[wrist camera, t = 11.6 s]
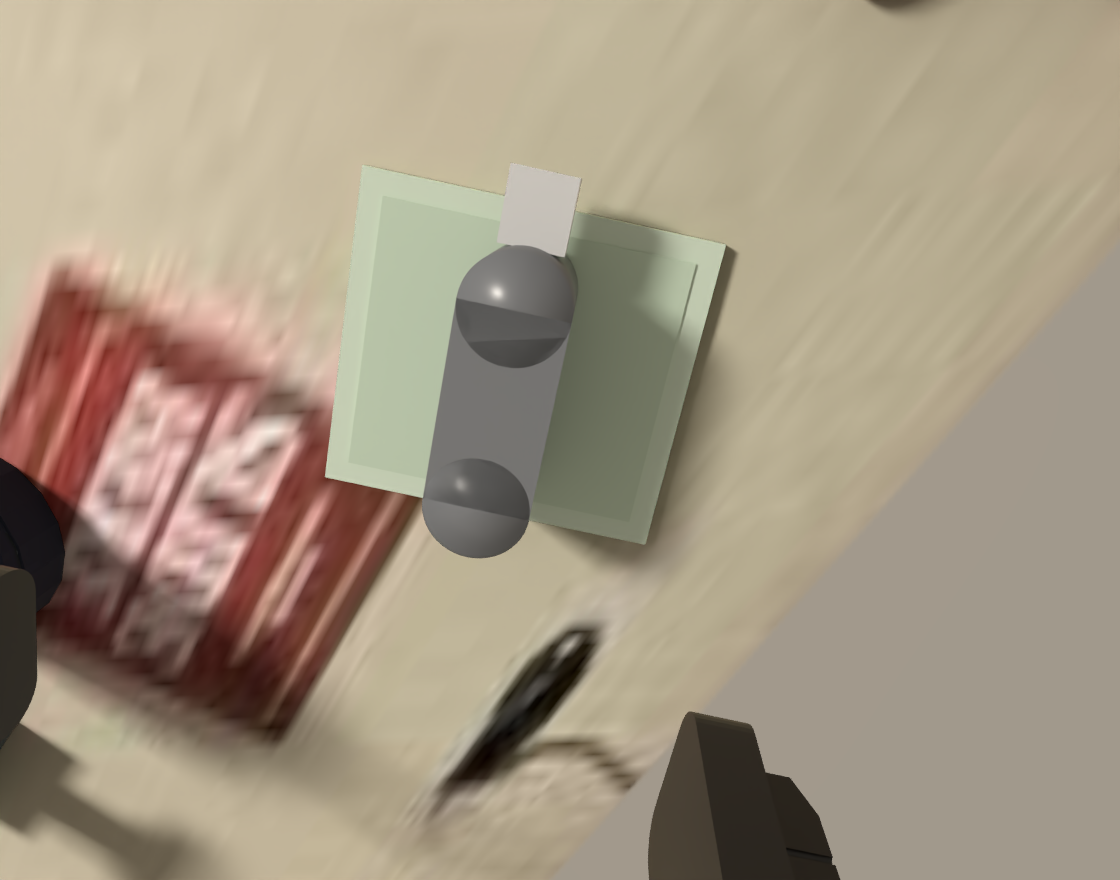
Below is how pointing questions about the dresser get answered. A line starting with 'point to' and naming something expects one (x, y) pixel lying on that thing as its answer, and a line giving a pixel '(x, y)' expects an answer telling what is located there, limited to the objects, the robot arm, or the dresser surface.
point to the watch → (4, 740)
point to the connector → (503, 371)
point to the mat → (588, 368)
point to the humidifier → (29, 533)
